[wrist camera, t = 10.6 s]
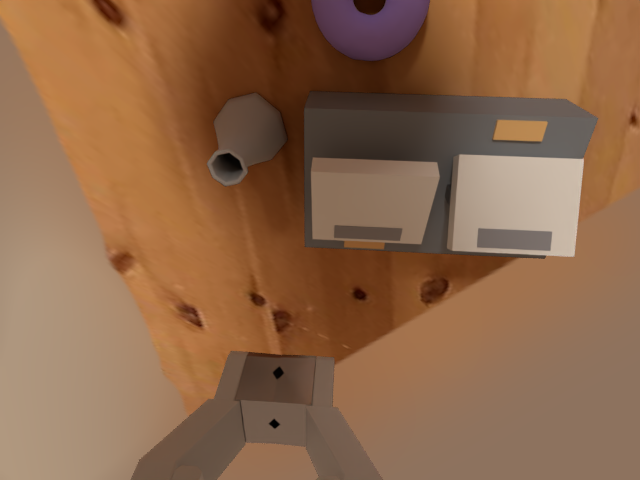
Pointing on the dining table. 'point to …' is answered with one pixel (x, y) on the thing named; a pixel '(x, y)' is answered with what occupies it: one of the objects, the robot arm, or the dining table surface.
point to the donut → (370, 27)
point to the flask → (245, 137)
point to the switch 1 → (372, 199)
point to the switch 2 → (514, 204)
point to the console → (435, 143)
